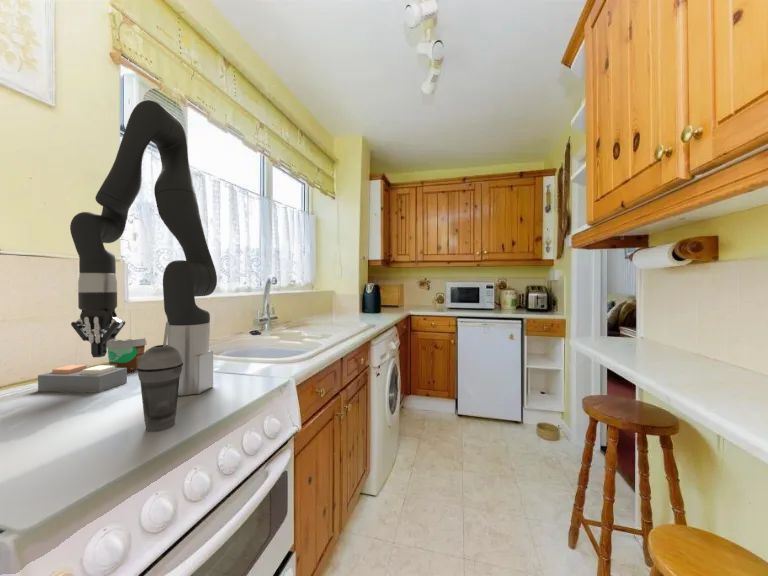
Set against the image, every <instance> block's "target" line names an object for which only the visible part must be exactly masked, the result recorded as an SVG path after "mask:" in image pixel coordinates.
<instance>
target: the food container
mask: <svg viewBox="0 0 768 576" xmlns="http://www.w3.org/2000/svg"><path fill="white" fill-rule="evenodd" d="M145 346H147V340H146V338H138V339H132V338H131V339H130V338H129V339H117V338H116V337H115V338H114V339H111V340H109V341H107V355H108V357H107V358H108V366H115V368H127V373H132V372H131V371H133V372H137V371H136V370H137V367H138V363H139V360H140V358H141V356H142V355H143V354H144V353H145Z"/></svg>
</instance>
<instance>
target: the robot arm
mask: <svg viewBox="0 0 768 576" xmlns="http://www.w3.org/2000/svg"><path fill="white" fill-rule="evenodd" d="M186 133H187V132H186V130H185V127H184V125H183V124H182V122H181V121H180V120H179V119H178V118H177V117H175V115H173V114H172V112H170V111H168V110H167V108H165V107H164V106H162V105H161V104H160V103H159V102H157V101H154V100H151V99H150V100H149V99H148V100H143V101H141V102H138V103H137V104H136V105H135V106H134V108H133V109H132V111H131V113H130V116H129V118H128V120H127V123H126V126H125V130H124V132H123V135H122V139H121V141H120V144H119V147H118V151H117V153H116V156H115V159H114V162H113V164H112V166H111V168H110V170H109V172H108V174H107V175H106V177H105V180H104V181H103V182H102V184H101V186H100V187H99V190H97V193H96V195H95V199H94V200H95V201H96V202H97V203H98V205H100V206H101V207H102V210H101V214H98V213H93V212H90V211H88V212H87V211H82V212H79V213H77V214H75V215H74V216H73V217H72V219H71V221H70V225H69V229H70V234H71V239H72V241H73V244H74V246H75V247H74V248H75V250H76V252H77V255H78V258H79V261H78V264H79V265H78V266H79V271H78V272H79V275H78V282H77V287H78V288H77V291H78V292H77V293H78V294H77V296H78V297H77V298H78V299H77V300H78V301H77V303H78V305H77V307H78V309H79V310H81V312H80V314H79V319H77V320H76V321H71V323H70V325H71V327H72V328H73V330H74V331H75V332H76V333H77V335H78V336H79V337H80V339H81V340H82V341H84V342H86V341H87V342H88V343H90V349H91V350H90V352H91V353H90V354H91V356H92V358H102V357H105V356H106V354H108V349H107V341H109V340H111V339H114V338H115V337H116V336H118V334H119V333H120V332H121V330H122V329H123V328H124V326H125V325H126V320H121V319H119V318H118V315H117V313H116V308H118V281H117V275H116V273H117V272H116V270H117V269H116V264H117V263H116V262H117V261H116V257H115V255H114V253H112V252H111V251H108V250H106V248H105V245H104V244H112V243H115V242H116V241H118V240H119V239H120V238H121V237H122V236H123V234H124V232H125V230H126V224H127V220H128V216H129V211H130V210H129V209H130V208H131V207H132V205H133V203H134V202H135V200H136V198H137V196H138V195H139V193H140V191H141V188H142V184H143V161H144V155H145V153H146V149H147V147H148V145H149V144H150V142H151V143H153V144H154V145H155V146H156V148H157V150H158V153H159V156H160V163H161V171H160V173H159V175H158V176H157V179H156V181H155V184H154V189H153V190H154V191H153V193H154V199H155V203H156V207H157V212H158V215H159V217H160V219H161V220H162V222H163V224H164V225H165V226H166V228H167V230H169V232H170V233H171V234H172V235H173V237H174V238H175V239H176V240H177V242H178V243H179V245H180V247H181V249H182V251H183V254H184V258H185V260H184V259H182V260H181V259H180V260H177V259H176V260H172V261H171V262H169V263H168V264H167V265H166V267H165V268H164V271H163V275H162V293H163V309H164V313H165V316H166V318H167V322H169V327H168V335H167V343H166V345H169V346H172V347H174V348H175V349H177V350H178V351H179V353H180V355H181V357H182V362H183V365H182V371H181V375H180V379H179V389H178V396H188V395H189V396H190V395H195V394H196V395H199V394H202V393H204V392H205V391H207V390H208V389H210V388H212V387H214V351H213V350H210V349H211V348H210V346H211V345H210V341H211V339H210V337H211V335H210V334H211V333H210V331H211V329H210V328H211V323H210V322H211V317H210V316H211V315H210V312H209V311H207V310H205V309H202V308H201V307H199V306H198V305H197V303H196V299H195V297H207V296H210V295H212V293H214V292H215V290H216V288H217V286H218V284H217V283H218V275H217V270H216V267H215V264H214V261H213V258H212V255H211V252H210V249H209V246H208V243H207V240H206V235H205V231H204V227H203V223H202V219H201V214H200V208H199V203H198V199H197V194H196V191H195V187H194V182H193V181H194V180H193V177H192V171H191V167H190V161H189V150H188V149H189V148H188V139H187V134H186Z"/></svg>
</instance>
